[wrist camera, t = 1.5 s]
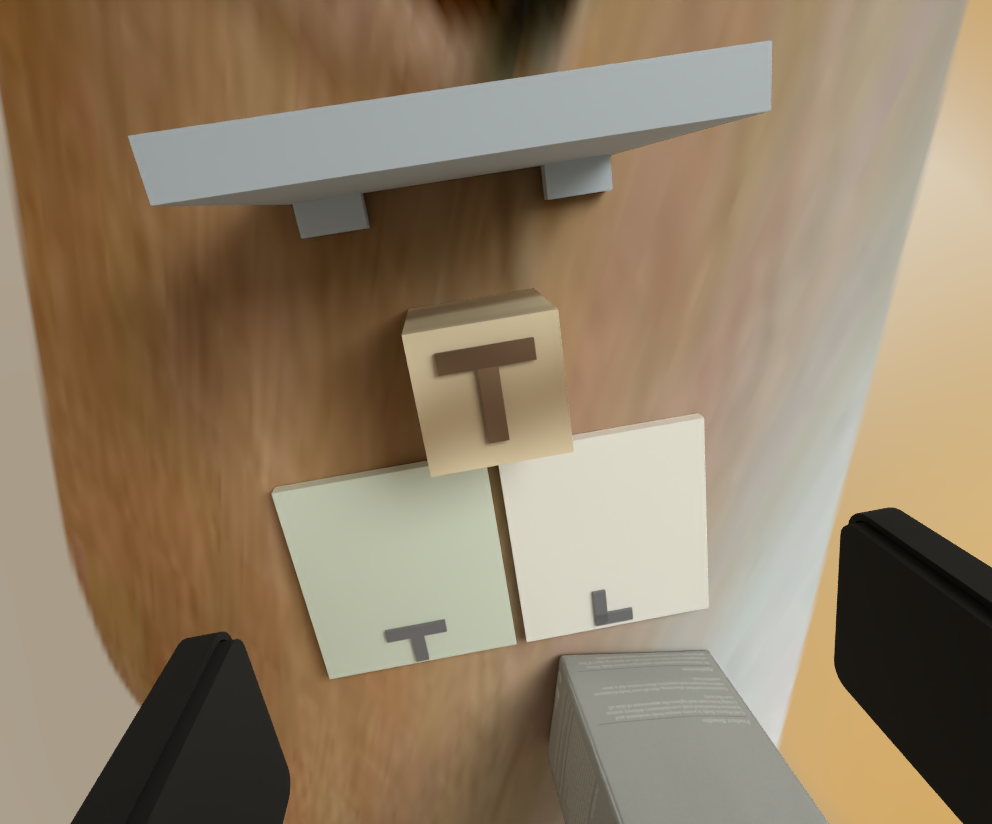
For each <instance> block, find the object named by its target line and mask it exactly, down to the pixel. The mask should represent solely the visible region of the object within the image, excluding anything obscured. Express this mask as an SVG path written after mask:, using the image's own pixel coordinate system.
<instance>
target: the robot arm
mask: <svg viewBox="0 0 992 824" xmlns="http://www.w3.org/2000/svg"><path fill="white" fill-rule="evenodd" d="M839 556H840V557H839V576H838V595H837V614H836V635H835V654H834V664H835V669H836V672H837V675H838V678H839V679H840V681H841V683H842V684H843V686H844V687H845V688H846V690H847V691H848V692H849V693H850V694H851V695H852V697H853V698H854V699H855V700H856V701H857V702H858V703H859V705H860V706H861V707H862V708H863V709H864V710H865V711H866V713H867V714H868V715H869V716H870V717H871V718H872V720H873V721H874V722H875V723H876V724H877V725H878V726H879V728H880V729H881V730H882V731H883V732H884V733H885V734H886V736H887V737H888V738H889V739H890V740H891V741H892V742H893V744H894V745H895V746H896V747H897V748H898V749H899V751H900V752H901V753H902V754H903V755H904V756H905V757H906V759H907V760H908V761H909V762H910V763H911V764H912V766H913V767H914V768H915V769H916V770H917V771H918V772H919V774H920V775H921V776H922V777H923V778H924V779H925V780H926V782H927V783H928V784H929V785H930V786H931V787H932V788H933V790H934V791H935V792H936V793H937V794H938V795H939V796H940V797H941V799H942V800H943V801H944V802H945V803H946V805H947V806H948V807H949V808H950V809H951V810H952V811H953V812H954V814H955V815H956V816H957V817H958V818H959V819H960V821H961V822H963V824H992V568H991V567H990V566H988V565H987V564H985V563H984V562H982V561H980V560H979V559H977V558H976V557H974V556H972V555H971V554H969V553H968V552H966V551H964V550H963V549H961V548H960V547H958V546H957V545H955V544H953V543H952V542H950V541H949V540H947V539H945V538H944V537H942V536H941V535H939V534H937V533H936V532H934V531H933V530H931V529H930V528H928V527H926V526H925V525H923V524H921V523H920V522H918V521H917V520H915V519H914V518H912V517H910V516H909V515H907V514H906V513H904V512H903V511H901V510H899V509H896V508H884V509H878V510H873V511H868V512H862V513H857V514H855V515H853V516H852V517H851V518H850V520H849V524H848V525H846V526H844V527H843V528H842V530H841V536H840V555H839ZM289 795H290V774H289V770H288V766H287V763H286V761H285V758H284V755H283V752H282V749H281V747H280V744H279V741H278V738H277V735H276V733H275V730H274V727H273V724H272V721H271V719H270V716H269V713H268V710H267V707H266V704H265V702H264V699H263V696H262V693H261V690H260V688H259V685H258V682H257V679H256V676H255V674H254V671H253V668H252V665H251V662H250V660H249V657H248V654H247V651H246V648H245V646H244V644H243V642H242V641H241V640H240V639H235V640H232V638H231V636H230V635H229V634H228V633H227V632H218V633H212V634H207V635H201V636H196V637H191V638H186V639H184V640H182V641H181V642H180V644H179V645H178V646H177V648H176V650H175V651H174V653H173V655H172V656H171V658H170V660H169V661H168V663H167V665H166V666H165V668H164V670H163V671H162V673H161V675H160V676H159V678H158V680H157V681H156V683H155V685H154V686H153V688H152V689H151V691H150V693H149V694H148V696H147V698H146V699H145V701H144V703H143V704H142V706H141V708H140V710H139V711H138V713H137V714H136V716H135V718H134V719H133V721H132V723H131V724H130V726H129V728H128V729H127V731H126V733H125V734H124V736H123V738H122V739H121V741H120V743H119V744H118V746H117V748H116V749H115V751H114V753H113V754H112V756H111V757H110V759H109V761H108V762H107V764H106V766H105V767H104V769H103V771H102V773H101V774H100V776H99V777H98V779H97V781H96V782H95V784H94V786H93V788H92V789H91V791H90V792H89V794H88V796H87V797H86V799H85V801H84V802H83V804H82V806H81V807H80V809H79V811H78V812H77V814H76V816H75V817H74V819H73V821H72V822H71V824H283V820H284V816H285V812H286V808H287V804H288V800H289Z"/></svg>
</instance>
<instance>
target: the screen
mask: <svg viewBox="0 0 992 824" xmlns="http://www.w3.org/2000/svg"><path fill="white" fill-rule="evenodd" d="M771 79H772V40H770V41H764V42H757V43H750V44H743V45H737V46H730V47H723V48H717V49H710V50H703V51H696V52H690V53H683V54H676V55H669V56H663V57H656V58H649V59H642V60H636V61H629V62H622V63H615V64H609V65H602V66H595V67H588V68H582V69H575V70H568V71H561V72H555V73H548V74H541V75H534V76H528V77H521V78H514V79H507V80H501V81H494V82H487V83H481V84H474V85H467V86H460V87H454V88H447V89H440V90H433V91H427V92H420V93H413V94H406V95H400V96H393V97H386V98H379V99H373V100H366V101H359V102H352V103H346V104H339V105H332V106H325V107H319V108H312V109H305V110H298V111H292V112H285V113H278V114H271V115H265V116H258V117H251V118H245V119H238V120H231V121H224V122H218V123H211V124H204V125H197V126H191V127H184V128H177V129H170V130H164V131H157V132H150V133H143V134H137V135H130V136H128V138H129V141H130V144H131V147H132V150H133V153H134V156H135V159H136V162H137V165H138V168H139V171H140V174H141V177H142V180H143V183H144V186H145V189H146V192H147V195H148V198H149V201H150V204H151V206H197V205H291V204H292V205H293V209H294V213H295V217H296V221H297V225H298V229H299V233H300V236H301V239H303V238H309V237H316V236H322V235H328V234H335V233H341V232H347V231H354V230H360V229H367V228H370V224H369V220H368V215H367V210H366V205H365V201H364V196H363V193H369V192H375V191H381V190H388V189H394V188H401V187H407V186H414V185H420V184H427V183H433V182H440V181H446V180H452V179H459V178H465V177H472V176H478V175H485V174H491V173H498V172H504V171H511V170H517V169H523V168H530V167H536V166H541V174H542V183H543V192H544V200H551V199H557V198H563V197H570V196H576V195H583V194H589V193H595V192H602V191H608V190H613V188H612V174H611V160H610V155H613V154H617V153H620V152H624V151H627V150H631V149H635V148H638V147H642V146H645V145H649V144H653V143H656V142H660V141H664V140H667V139H671V138H674V137H678V136H682V135H685V134H689V133H692V132H696V131H700V130H703V129H707V128H710V127H714V126H718V125H721V124H725V123H728V122H732V121H736V120H739V119H743V118H746V117H750V116H754V115H757V114H761V113H764V112H768V111H771Z"/></svg>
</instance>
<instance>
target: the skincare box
mask: <svg viewBox="0 0 992 824" xmlns="http://www.w3.org/2000/svg"><path fill="white" fill-rule="evenodd" d="M548 758H549V762H550V766H551V770H552V774H553V778H554V782H555V786H556V790H557V793H558V797H559V801H560V805H561V809H562V813H563V816H564V820H565V824H829V823H828V822H827V820H826V819H825V817H824V816H823V814H822V813H821V811H820V810H819V808H818V807H817V806H816V804H815V803H814V801H813V799H812V798H811V797H810V795H809V794H808V793H807V791H806V790H805V788H804V787H803V785H802V784H801V783H800V781H799V780H798V778H797V777H796V775H795V774H794V773H793V771H792V770H791V768H790V767H789V765H788V764H787V763H786V761H785V760H784V758H783V757H782V756H781V754H780V752H779V751H778V750H777V748H776V747H775V745H774V744H773V742H772V741H771V740H770V738H769V737H768V735H767V734H766V732H765V731H764V730H763V728H762V727H761V725H760V724H759V722H758V721H757V720H756V718H755V717H754V715H753V714H752V712H751V711H750V710H749V708H748V707H747V705H746V704H745V702H744V701H743V699H742V698H741V697H740V695H739V694H738V692H737V691H736V690H735V688H734V687H733V685H732V684H731V682H730V681H729V680H728V678H727V677H726V676H725V674H724V673H723V671H722V670H721V668H720V667H719V665H718V664H717V663H716V661H715V660H714V658H713V657H712V655H711V654H710V652H709V651H677V652H648V653H618V654H589V655H562V656H561V657H560V661H559V670H558V678H557V685H556V693H555V701H554V709H553V716H552V723H551V730H550V739H549V746H548Z"/></svg>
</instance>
